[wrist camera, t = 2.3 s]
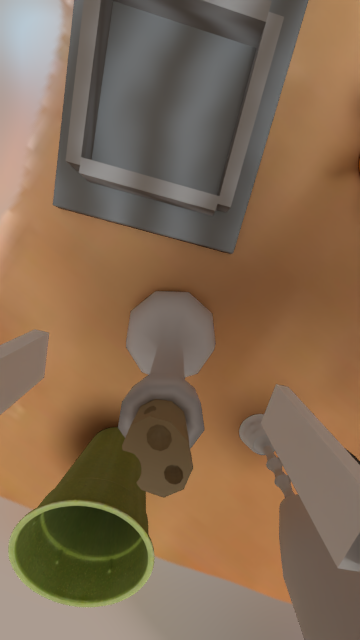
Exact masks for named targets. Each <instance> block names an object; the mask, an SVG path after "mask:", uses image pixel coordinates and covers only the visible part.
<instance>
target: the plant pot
mask: <svg viewBox="0 0 360 640" xmlns="http://www.w3.org/2000/svg"><path fill="white" fill-rule="evenodd" d="M124 440H125V437H124V436H123V434H122V433H121V431H120V430H119V429H118V427H112V428H107V429H105V430H102V431H100V432H99V433H98V434H97V435H96V436H95V437H94V438H93V439H92V440H91V442H90V443H89V444H88V446H87V447H86V448H85V450H84V451H83V452H82V454H81V455H80V456H79V457H78V459H77V460H76V461H75V463H74V464H73V465H72V467H71V468H70V469H69V470H68V472H67V473H66V474H65V476H64V477H63V478H62V480H61V481H60V482H59V484H58V485H57V486H56V488H55V489H53V490H52V491H51V492H50V493H49V494H48V495H47V496H46V497H45V499H44V500H43V501H42V502H41V504H40V505H39V506H38V507H37V508H36V509H34V510H32V511H31V512H29V513H28V514H27V515H26V516H25V517H24V518H22V520H20V522H19V523H18V524H17V525H16V527H15V528H14V530H13V532H12V534H11V536H10V540H9V550H8V552H9V559H10V562H11V565H12V567H13V569H14V571H15V572H16V574H17V576H18V577H19V578H20V580H21V581H22V582H23V583H24V584H25V585H26V586H28V587H29V588H30V589H31V590H33V591H34V592H36V593H38V594H39V595H41V596H43V597H45V598H47V599H49V600H52V601H54V602H57V603H61V604H65V605H69V606H75V607H98V606H105V605H111V604H114V603H117V602H120V601H122V600H124V599H127V598H128V597H130V596H132V595H133V594H135V593H136V592H137V591H138V590H139V589H140V588H141V587H142V586H143V585H144V584H145V583H146V581H147V580H148V579H149V577H150V575H151V572H152V569H153V566H154V549H153V545H152V542H151V539H150V537H149V535H148V518H147V514H146V491H143V490H141V488H140V487H139V486H138V485H137V483H136V482H137V481H138V480H139V478H140V476H141V464H140V461H139V459H138V458H137V457H136V455H135V454H133V453H130V452H127V451H123V449H122V444H123V442H124Z"/></svg>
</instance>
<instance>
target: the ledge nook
mask: <svg viewBox="0 0 360 640" xmlns="http://www.w3.org/2000/svg"><path fill="white" fill-rule="evenodd" d="M307 3H308V0H74V9H73V18H72V28H71V37H70V47H69V56H68V66H67V75H66V85H65V94H64V104H63V113H62V123H61V132H60V142H59V151H58V161H57V170H56V180H55V190H54V199H53V205H54V206H56V207H58V208H61V209H65V210H69V211H73V212H76V213H80V214H84V215H87V216H91V217H95V218H99V219H102V220H106V221H110V222H114V223H117V224H121V225H125V226H129V227H132V228H136V229H140V230H143V231H147V232H151V233H155V234H158V235H162V236H166V237H170V238H173V239H177V240H181V241H185V242H188V243H192V244H196V245H199V246H203V247H207V248H211V249H214V250H218V251H222V252H226V253H229V254H233V252H234V249H235V245H236V242H237V239H238V235H239V232H240V229H241V225H242V222H243V219H244V215H245V212H246V208H247V205H248V202H249V198H250V195H251V192H252V188H253V185H254V182H255V178H256V175H257V171H258V168H259V165H260V161H261V158H262V155H263V151H264V148H265V145H266V141H267V138H268V135H269V131H270V128H271V124H272V121H273V118H274V114H275V111H276V108H277V104H278V101H279V98H280V94H281V91H282V87H283V84H284V81H285V77H286V74H287V71H288V67H289V64H290V61H291V57H292V54H293V50H294V47H295V44H296V40H297V37H298V34H299V30H300V27H301V24H302V20H303V17H304V14H305V10H306V7H307Z"/></svg>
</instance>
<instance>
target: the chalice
mask: <svg viewBox="0 0 360 640" xmlns="http://www.w3.org/2000/svg"><path fill="white" fill-rule="evenodd" d="M263 416H264V414H256V415H252V416H250V417H248V418H247V419H245V420H244V421H243V423H242V424H241V426H240V429H239V436H240V438H241V440H242V441H243V442H244V443H245V444H246V445H247V446H248V447H249V448H250V449H251V450H252V451H253V452H255V453H257V454H260V455H266V456H267V460H268V461H267V464H266V465H267V468H268V469H269V470H271V471H273V472H274V474H275V484H276V485H277V486H278V487H279V488H280V489H281V490H282V492H283V493H284V496H285V499H283V501H282V502H281V504H280V511H279V540H280V550H281V559H282V569H283V577H284V580H285V583H286V586H287V589H288V592H289V595H290V598H291V601H292V604H293V607H294V609H295V613H296V616H297V619H298V622H299V625H300V627H301V631H302V634H303V637H304V640H360V571H359V572H358V571H352V570H345V569H339V568H337V566H336V564H335V562H334V561H333V559H332V557H331V555H330V553H329V551H328V549H327V547H326V545H325V544H324V542H323V540H322V538H321V536H320V534H319V532H318V530H317V529H316V527H315V525H314V523H313V521H312V519H311V517H310V515H309V513H308V512H307V510H306V508H305V506H304V504H303V502H302V500H301V498H300V496H299V495H295V494H294V493H293V491H292V488H291V484H290V483H291V480H290V478H289V476H288V475H286V474H285V473H284V472H283V471H282V466H283V464H282V463H281V461H280V459H279V458H277V457H276V456H275V455H274V451H275V449H274V448H273V446H272V444H271V442H270V440H269V438H268V436H267V434H266V432H265V431H264V429H263V427H262V425H261V421H262V419H263Z"/></svg>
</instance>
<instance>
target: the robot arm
mask: <svg viewBox="0 0 360 640" xmlns="http://www.w3.org/2000/svg"><path fill="white" fill-rule="evenodd" d="M48 338H49V333H48V332H44V331H39V330H32V331H30V332H28V333H26V334H24V335H22V336H19V337H17V338H15V339H13V340H11V341H8V342H6V343H4V344H2V345H0V415H1V414H2V413H3V412H4V411H5V410H7V409H8V408H9V407H10V406H11V405H12V404H14V403H15V402H16V401H17V400H18V399H19V398H21V397H22V396H23V395H24V394H25V393H26V392H28V391H29V390H30V389H31V388H32V387H34V386H35V385H36V384H37V383H38V382H39V381H41V380H42V379H43V378H44V373H45V365H46V356H47V347H48ZM261 425H262V427H263V429H264V431H265V432H266V434H267V436H268V438H269V440H270V442H271V444H272V446H273V448H274V449H275V451H276V453H277V455H278V457H279V459H280V461H281V463H282V464H283V466H284V468H285V470H286V472H287V474H288V476H289V478H290V480H291V481H292V483H293V485H294V487H295V489H296V491H297V493H298V495H299V496H300V498H301V500H302V502H303V504H304V506H305V508H306V510H307V512H308V513H309V515H310V517H311V519H312V521H313V523H314V525H315V527H316V529H317V530H318V532H319V534H320V536H321V538H322V540H323V542H324V544H325V545H326V547H327V549H328V551H329V553H330V555H331V557H332V559H333V561H334V562H335V564H336V566H337V568H339V569H345V570H352V571H358V572H359V571H360V461H359V460H358V459H357V458H356V457H355V456H354V455H353V454H351V453H350V452H349V451H348V450H346V449H345V448H344V447H343V446H342V445H341V444H340V443H339V442H338V441H337V439H336V438H335V437H334V436H333V435H332V434H331V433H330V432H329V431H328V430H327V429H326V427H325V426H324V425H323V424H322V423H321V422H320V421H319V420H318V419H317V418H316V417H315V415H314V414H313V413H312V412H311V411H310V410H309V409H308V408H307V407H306V406H305V405H304V403H303V402H302V401H301V400H300V399H299V398H298V397H297V396H296V395H295V394H294V393H293V391H292V390H291V389H290V388H289V387H286V386H282V385H278V384H276V386H275V388H274V391H273V393H272V396H271V398H270V401H269V403H268V406H267V408H266V411H265V414H264V416H263V419H262V421H261Z"/></svg>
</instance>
